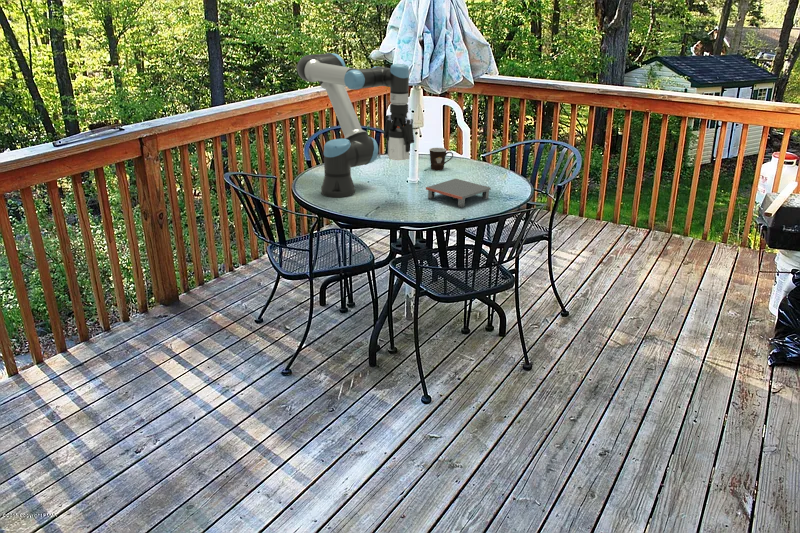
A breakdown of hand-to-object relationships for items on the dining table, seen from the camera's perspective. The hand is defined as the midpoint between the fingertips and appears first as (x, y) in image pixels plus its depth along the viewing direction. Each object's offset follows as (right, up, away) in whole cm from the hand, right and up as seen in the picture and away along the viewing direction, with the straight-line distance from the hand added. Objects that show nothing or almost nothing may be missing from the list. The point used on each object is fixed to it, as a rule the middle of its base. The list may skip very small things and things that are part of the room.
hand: (398, 157), depth 282 cm
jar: (0, -1, 0) cm, 1 cm away
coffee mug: (+21, +3, +56) cm, 60 cm away
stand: (+27, -16, +11) cm, 33 cm away
